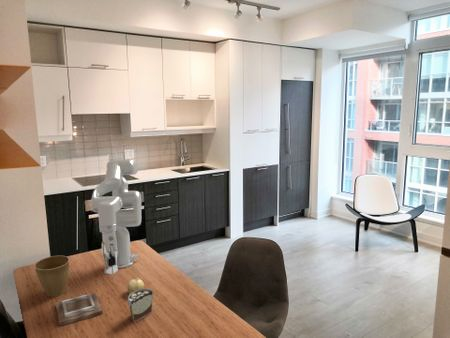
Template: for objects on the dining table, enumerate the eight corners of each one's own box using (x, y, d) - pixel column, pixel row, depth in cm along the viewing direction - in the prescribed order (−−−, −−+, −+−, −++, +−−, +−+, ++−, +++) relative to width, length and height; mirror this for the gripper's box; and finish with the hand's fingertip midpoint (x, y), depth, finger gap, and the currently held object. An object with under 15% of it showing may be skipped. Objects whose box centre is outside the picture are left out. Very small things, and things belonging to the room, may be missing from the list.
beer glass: (114, 275, 160) (112, 245, 157) (100, 274, 162) (98, 244, 158) (121, 268, 167) (119, 239, 164) (108, 267, 168) (106, 238, 165)
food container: (145, 305, 154) (144, 285, 153) (154, 310, 151) (153, 289, 149) (122, 318, 145) (120, 296, 143) (131, 324, 141) (129, 301, 139)
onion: (141, 296, 162) (140, 283, 161) (124, 296, 162) (124, 282, 161) (146, 288, 170) (145, 274, 168) (130, 287, 170) (129, 274, 169)
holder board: (95, 295, 163) (95, 289, 162) (102, 313, 148) (102, 307, 148) (56, 305, 155) (55, 299, 154) (59, 326, 140) (58, 319, 140)
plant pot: (41, 287, 170) (38, 257, 167) (73, 283, 175) (71, 253, 172) (34, 303, 156) (31, 271, 153) (70, 298, 161) (67, 266, 158)
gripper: (120, 231, 154) (123, 268, 158) (112, 220, 169) (114, 253, 173) (103, 234, 150) (106, 272, 154) (96, 222, 165) (99, 257, 169)
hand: (110, 262), depth 163 cm, fingers closed on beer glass, 6 cm apart
